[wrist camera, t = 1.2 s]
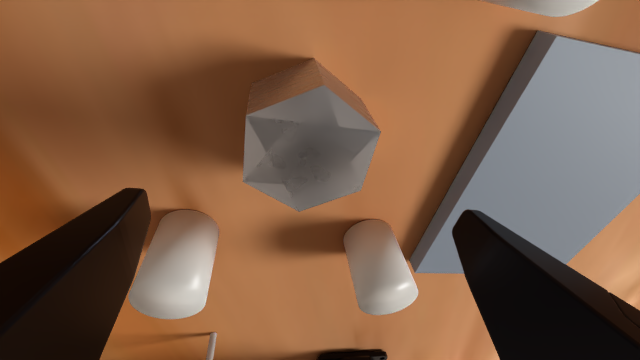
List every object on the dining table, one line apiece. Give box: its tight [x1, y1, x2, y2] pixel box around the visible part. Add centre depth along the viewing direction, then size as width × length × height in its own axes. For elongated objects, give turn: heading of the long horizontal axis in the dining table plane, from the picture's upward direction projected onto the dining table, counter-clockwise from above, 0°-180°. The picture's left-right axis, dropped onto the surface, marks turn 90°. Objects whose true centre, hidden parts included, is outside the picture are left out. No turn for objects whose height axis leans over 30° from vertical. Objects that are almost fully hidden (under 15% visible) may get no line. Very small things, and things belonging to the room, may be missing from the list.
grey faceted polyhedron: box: [243, 58, 381, 212], centre depth 12 cm, size 5×4×3 cm
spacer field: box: [129, 0, 598, 319], centre depth 11 cm, size 17×13×4 cm
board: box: [409, 31, 640, 273], centre depth 16 cm, size 14×11×1 cm
